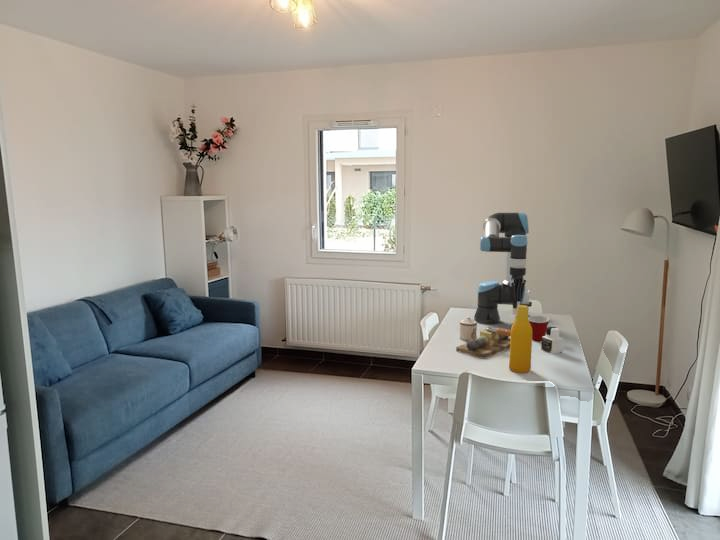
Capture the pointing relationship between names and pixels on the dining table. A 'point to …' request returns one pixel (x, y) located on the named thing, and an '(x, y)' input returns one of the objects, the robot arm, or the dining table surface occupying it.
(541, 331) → the plastic cup
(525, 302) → the candle holder
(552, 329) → the medicine bottle
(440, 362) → the dining table surface
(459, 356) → the dining table surface
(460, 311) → the dining table surface
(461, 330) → the teacup with lid
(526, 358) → the beer bottle
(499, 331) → the valve lever
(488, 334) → the pipe valve
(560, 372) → the dining table surface
